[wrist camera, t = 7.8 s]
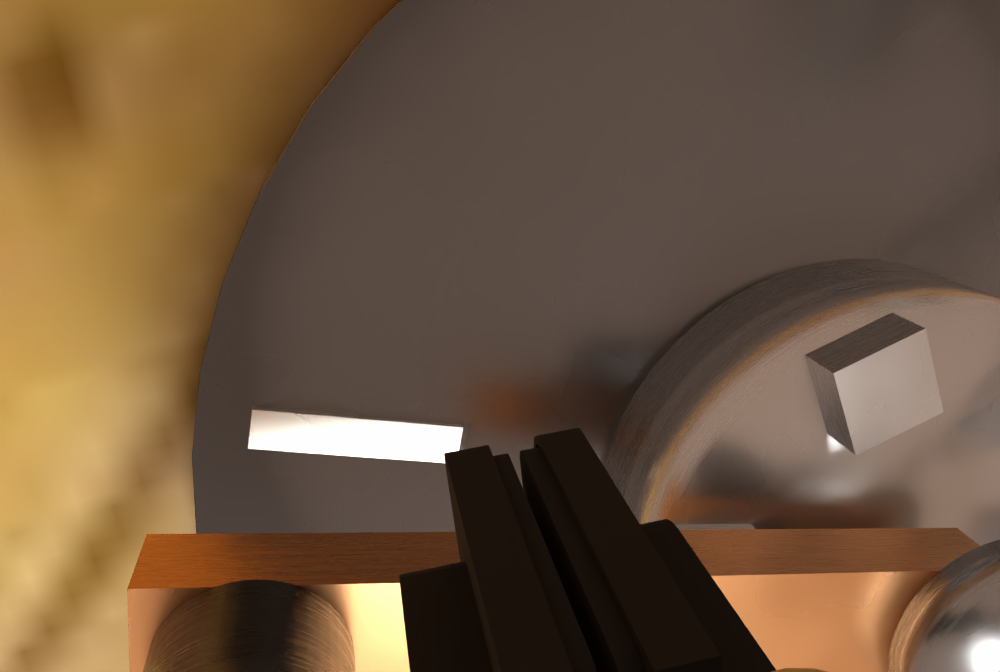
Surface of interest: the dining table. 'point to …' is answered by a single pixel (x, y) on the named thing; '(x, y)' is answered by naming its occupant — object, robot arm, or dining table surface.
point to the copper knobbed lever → (702, 497)
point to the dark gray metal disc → (565, 226)
